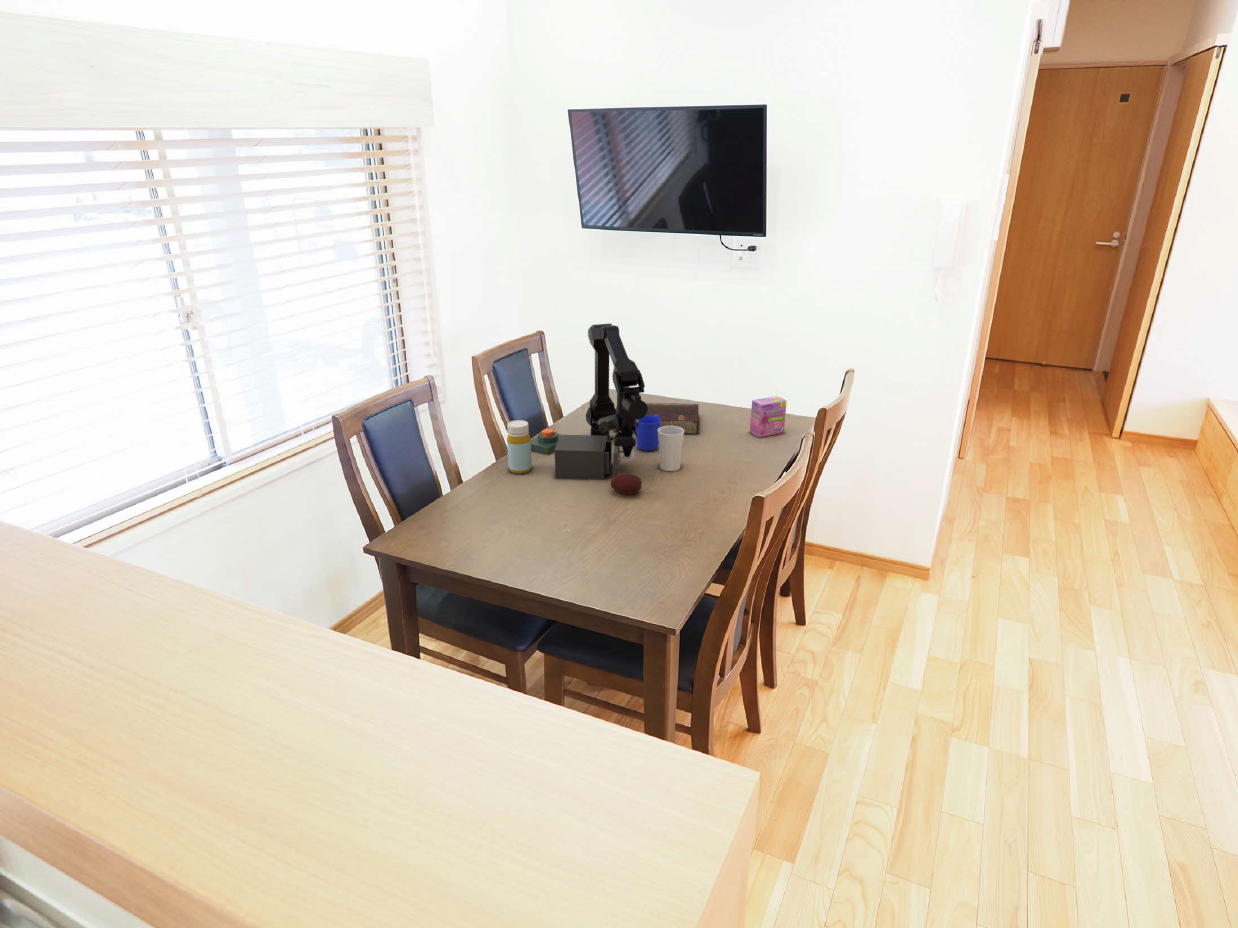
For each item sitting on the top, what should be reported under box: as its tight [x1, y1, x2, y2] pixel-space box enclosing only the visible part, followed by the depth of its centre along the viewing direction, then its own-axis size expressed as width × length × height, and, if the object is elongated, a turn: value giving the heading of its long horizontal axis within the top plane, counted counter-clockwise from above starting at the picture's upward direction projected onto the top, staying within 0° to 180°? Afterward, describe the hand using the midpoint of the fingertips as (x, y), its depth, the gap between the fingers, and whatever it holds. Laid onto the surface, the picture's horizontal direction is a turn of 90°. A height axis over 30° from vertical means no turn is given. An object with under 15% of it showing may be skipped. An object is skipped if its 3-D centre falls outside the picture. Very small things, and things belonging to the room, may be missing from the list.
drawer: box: [604, 440, 636, 477], centre depth 237 cm, size 18×11×7 cm, turn 86°
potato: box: [610, 472, 643, 495], centre depth 223 cm, size 8×9×6 cm
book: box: [612, 402, 700, 434], centre depth 275 cm, size 29×19×5 cm, turn 85°
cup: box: [658, 426, 685, 472], centre depth 239 cm, size 8×8×12 cm
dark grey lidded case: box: [553, 434, 607, 480], centre depth 237 cm, size 15×13×9 cm
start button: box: [541, 428, 555, 437], centre depth 256 cm, size 4×4×2 cm
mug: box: [636, 415, 661, 452], centre depth 255 cm, size 8×12×10 cm
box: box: [749, 395, 788, 438], centre depth 265 cm, size 10×6×12 cm, turn 114°
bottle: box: [506, 419, 533, 475], centre depth 237 cm, size 7×7×15 cm
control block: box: [531, 430, 562, 455], centre depth 257 cm, size 12×9×4 cm
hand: (626, 457), depth 236 cm, fingers closed, pressing on drawer
